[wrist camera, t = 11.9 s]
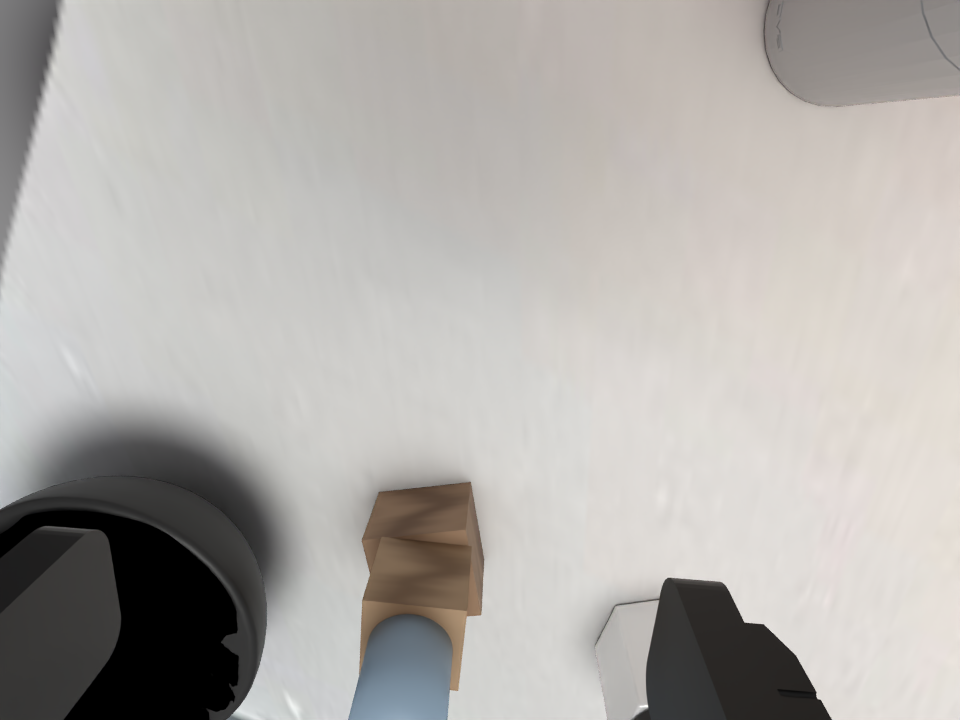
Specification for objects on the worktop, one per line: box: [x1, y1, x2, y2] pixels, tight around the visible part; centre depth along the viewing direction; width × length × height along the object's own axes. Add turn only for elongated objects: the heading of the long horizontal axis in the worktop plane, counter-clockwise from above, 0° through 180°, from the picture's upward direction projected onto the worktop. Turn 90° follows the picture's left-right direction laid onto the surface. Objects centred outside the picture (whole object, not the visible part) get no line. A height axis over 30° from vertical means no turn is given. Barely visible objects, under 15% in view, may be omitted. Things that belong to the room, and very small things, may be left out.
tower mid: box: [359, 537, 472, 691], centre depth 39 cm, size 6×6×6 cm
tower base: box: [362, 482, 484, 616], centre depth 45 cm, size 7×7×6 cm
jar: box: [595, 600, 659, 720], centre depth 45 cm, size 9×8×12 cm
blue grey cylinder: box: [348, 614, 453, 720], centre depth 34 cm, size 5×5×6 cm
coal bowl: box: [0, 476, 267, 720], centre depth 40 cm, size 20×20×19 cm
